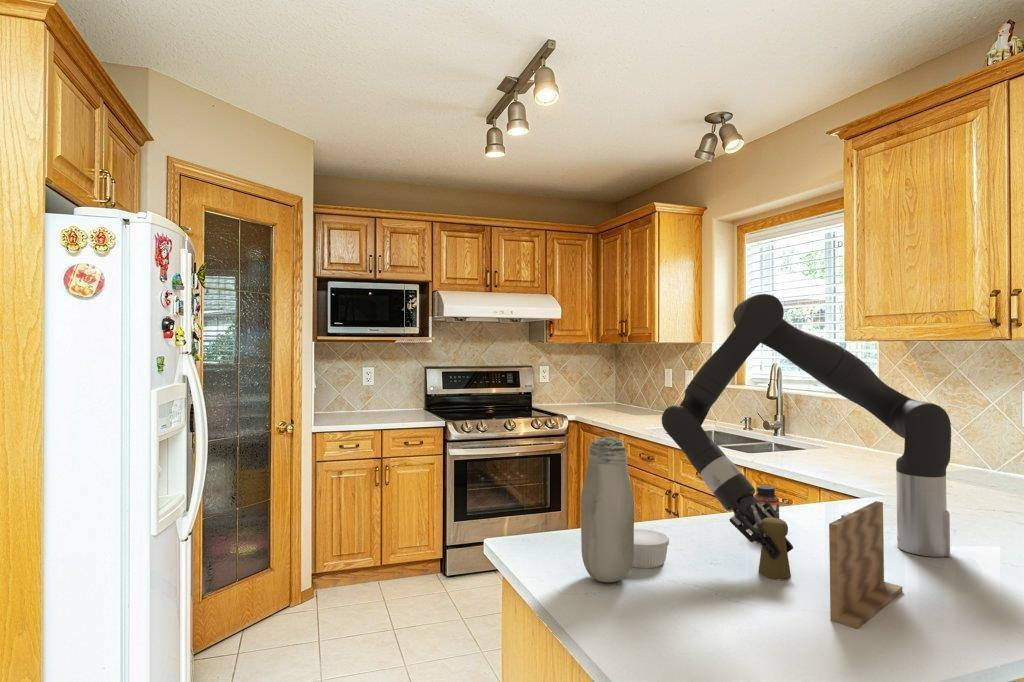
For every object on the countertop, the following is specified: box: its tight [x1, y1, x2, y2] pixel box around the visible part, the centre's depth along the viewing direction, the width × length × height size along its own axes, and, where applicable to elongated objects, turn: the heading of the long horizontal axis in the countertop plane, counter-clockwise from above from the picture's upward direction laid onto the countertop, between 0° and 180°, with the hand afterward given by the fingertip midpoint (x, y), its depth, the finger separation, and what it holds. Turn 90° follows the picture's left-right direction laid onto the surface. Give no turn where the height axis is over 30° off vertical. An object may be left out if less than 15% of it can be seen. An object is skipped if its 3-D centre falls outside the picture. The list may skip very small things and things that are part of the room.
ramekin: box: [631, 528, 670, 569], centre depth 127 cm, size 11×11×5 cm
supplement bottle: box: [754, 485, 780, 532], centre depth 145 cm, size 6×6×11 cm
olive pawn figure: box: [757, 518, 792, 581], centre depth 119 cm, size 6×6×11 cm
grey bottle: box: [580, 436, 635, 584], centre depth 117 cm, size 10×10×28 cm
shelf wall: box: [828, 500, 903, 630], centre depth 104 cm, size 22×4×16 cm, turn 131°
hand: (783, 553), depth 118 cm, fingers closed on olive pawn figure, 4 cm apart
